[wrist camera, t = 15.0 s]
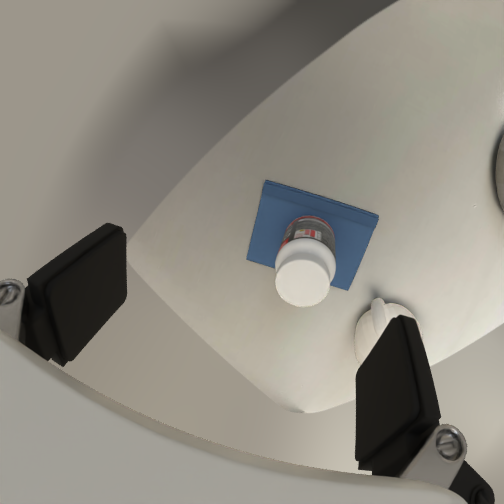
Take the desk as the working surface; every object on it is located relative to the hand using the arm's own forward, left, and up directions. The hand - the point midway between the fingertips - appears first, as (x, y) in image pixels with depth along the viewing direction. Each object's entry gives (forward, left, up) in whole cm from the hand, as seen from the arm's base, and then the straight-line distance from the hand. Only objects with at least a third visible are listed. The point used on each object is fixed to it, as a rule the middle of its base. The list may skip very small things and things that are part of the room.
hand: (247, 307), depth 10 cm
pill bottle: (+3, -7, -24) cm, 25 cm away
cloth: (+3, -7, -24) cm, 26 cm away
